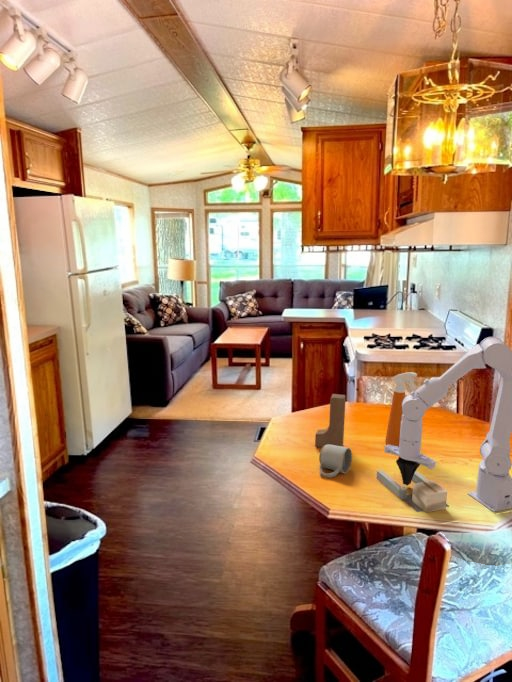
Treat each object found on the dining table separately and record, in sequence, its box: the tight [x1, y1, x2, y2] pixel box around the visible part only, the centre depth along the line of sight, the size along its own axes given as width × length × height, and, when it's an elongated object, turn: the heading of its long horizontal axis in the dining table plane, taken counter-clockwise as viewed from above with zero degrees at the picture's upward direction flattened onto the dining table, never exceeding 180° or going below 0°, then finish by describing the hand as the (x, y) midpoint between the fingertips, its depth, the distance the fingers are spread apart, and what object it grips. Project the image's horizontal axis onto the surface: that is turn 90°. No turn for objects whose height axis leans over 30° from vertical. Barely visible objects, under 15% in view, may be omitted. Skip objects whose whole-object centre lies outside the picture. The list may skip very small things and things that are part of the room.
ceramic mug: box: [318, 445, 353, 479], centre depth 145 cm, size 11×8×8 cm
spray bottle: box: [384, 371, 418, 447], centre depth 162 cm, size 7×11×26 cm, turn 46°
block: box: [411, 480, 448, 513], centre depth 126 cm, size 6×6×5 cm
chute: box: [376, 469, 430, 501], centre depth 136 cm, size 13×11×3 cm
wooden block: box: [314, 393, 347, 448], centre depth 162 cm, size 9×4×18 cm, turn 72°
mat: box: [403, 493, 450, 513], centre depth 128 cm, size 8×10×1 cm
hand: (406, 483), depth 136 cm, fingers closed
